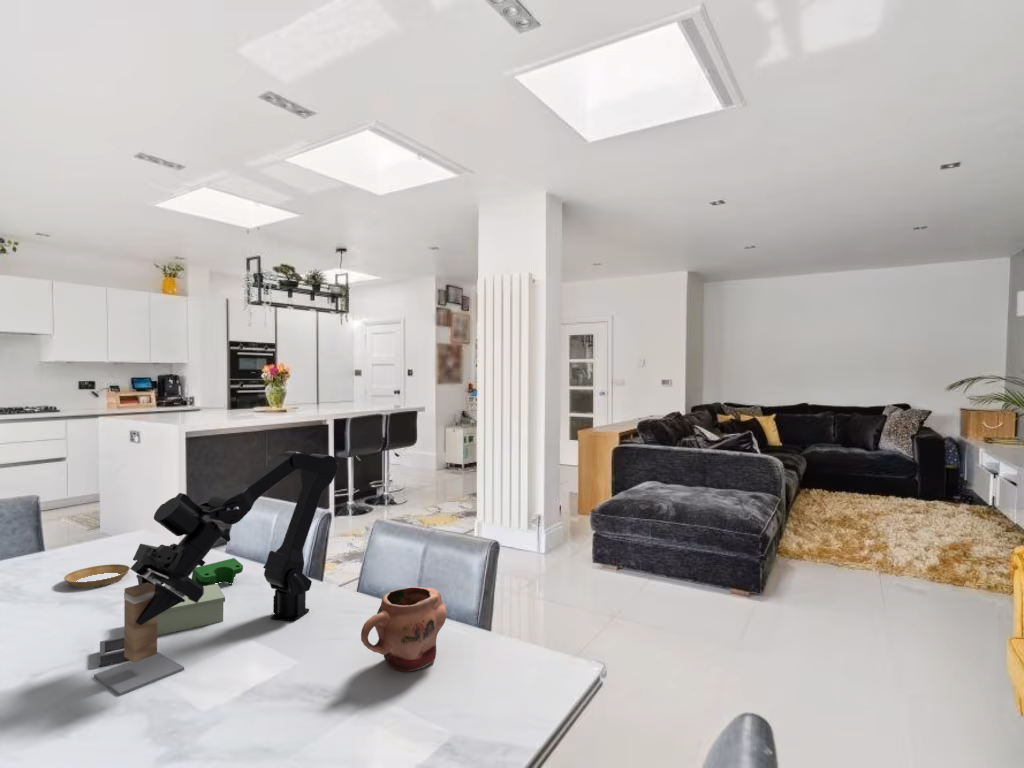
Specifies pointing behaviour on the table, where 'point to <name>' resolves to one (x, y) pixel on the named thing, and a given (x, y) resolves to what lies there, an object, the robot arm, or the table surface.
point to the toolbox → (193, 612)
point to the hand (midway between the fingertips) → (132, 620)
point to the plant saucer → (95, 570)
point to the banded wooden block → (138, 637)
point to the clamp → (217, 572)
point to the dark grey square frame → (112, 656)
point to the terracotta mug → (407, 627)
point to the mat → (138, 673)
